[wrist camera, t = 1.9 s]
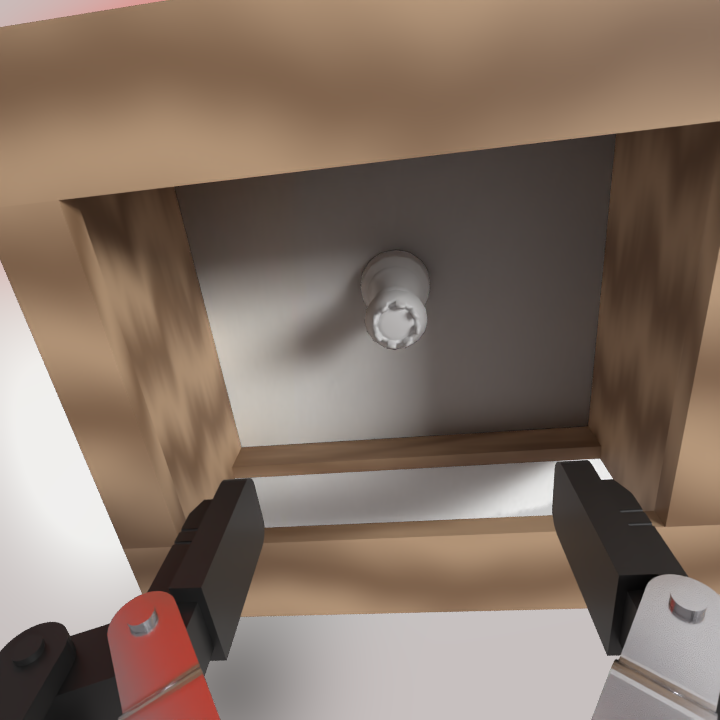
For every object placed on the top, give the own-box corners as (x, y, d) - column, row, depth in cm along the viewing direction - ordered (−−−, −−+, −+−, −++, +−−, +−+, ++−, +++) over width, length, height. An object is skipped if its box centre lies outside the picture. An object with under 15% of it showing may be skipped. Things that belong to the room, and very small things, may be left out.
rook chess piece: (375, 237, 30) (370, 269, 23) (441, 263, 31) (456, 303, 24) (351, 300, 32) (339, 349, 25) (413, 324, 33) (418, 378, 25)
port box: (130, 84, 28) (-92, 42, 15) (648, 9, 25) (917, -121, 12) (232, 458, 38) (153, 618, 26) (601, 436, 35) (717, 605, 23)
